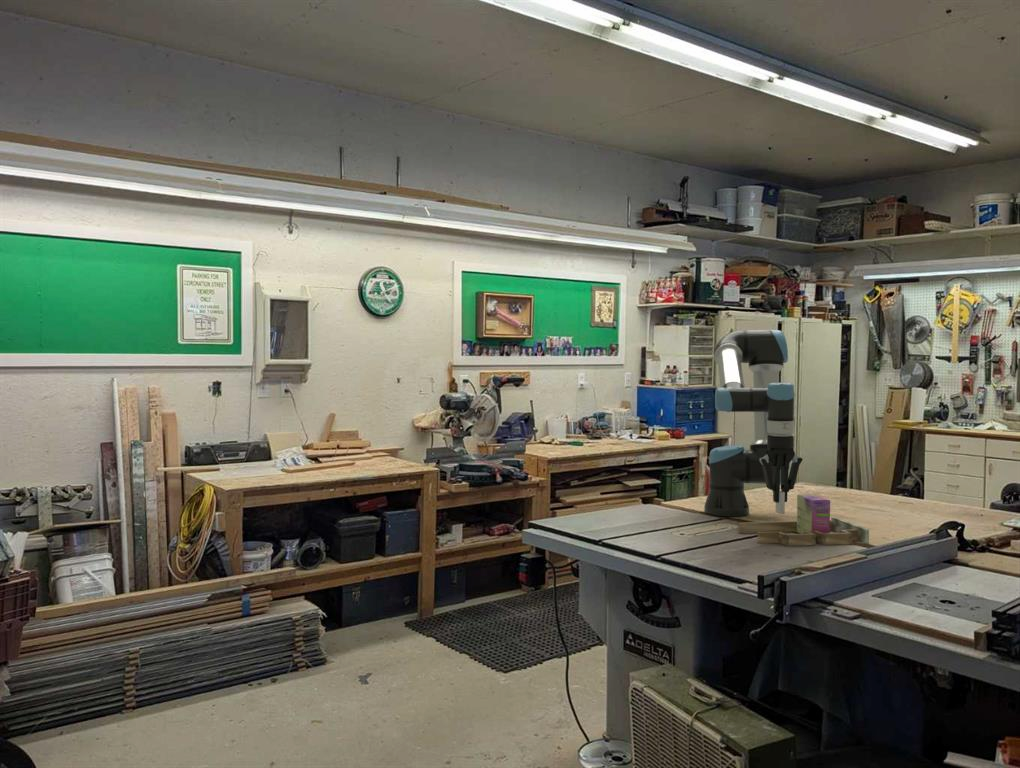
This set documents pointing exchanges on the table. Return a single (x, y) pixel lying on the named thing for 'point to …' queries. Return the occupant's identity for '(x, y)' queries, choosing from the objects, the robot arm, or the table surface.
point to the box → (813, 513)
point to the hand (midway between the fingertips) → (780, 512)
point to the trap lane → (805, 533)
